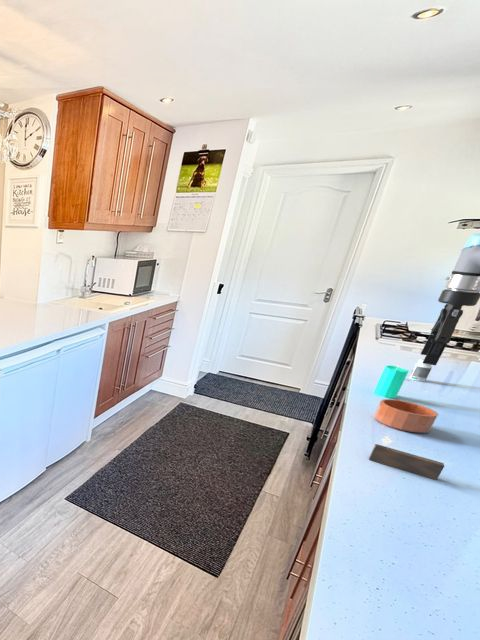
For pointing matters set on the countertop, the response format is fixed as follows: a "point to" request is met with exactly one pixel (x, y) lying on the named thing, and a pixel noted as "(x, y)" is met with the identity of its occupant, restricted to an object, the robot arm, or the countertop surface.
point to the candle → (390, 381)
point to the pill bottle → (420, 371)
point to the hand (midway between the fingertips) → (427, 359)
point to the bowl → (405, 415)
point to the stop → (406, 461)
